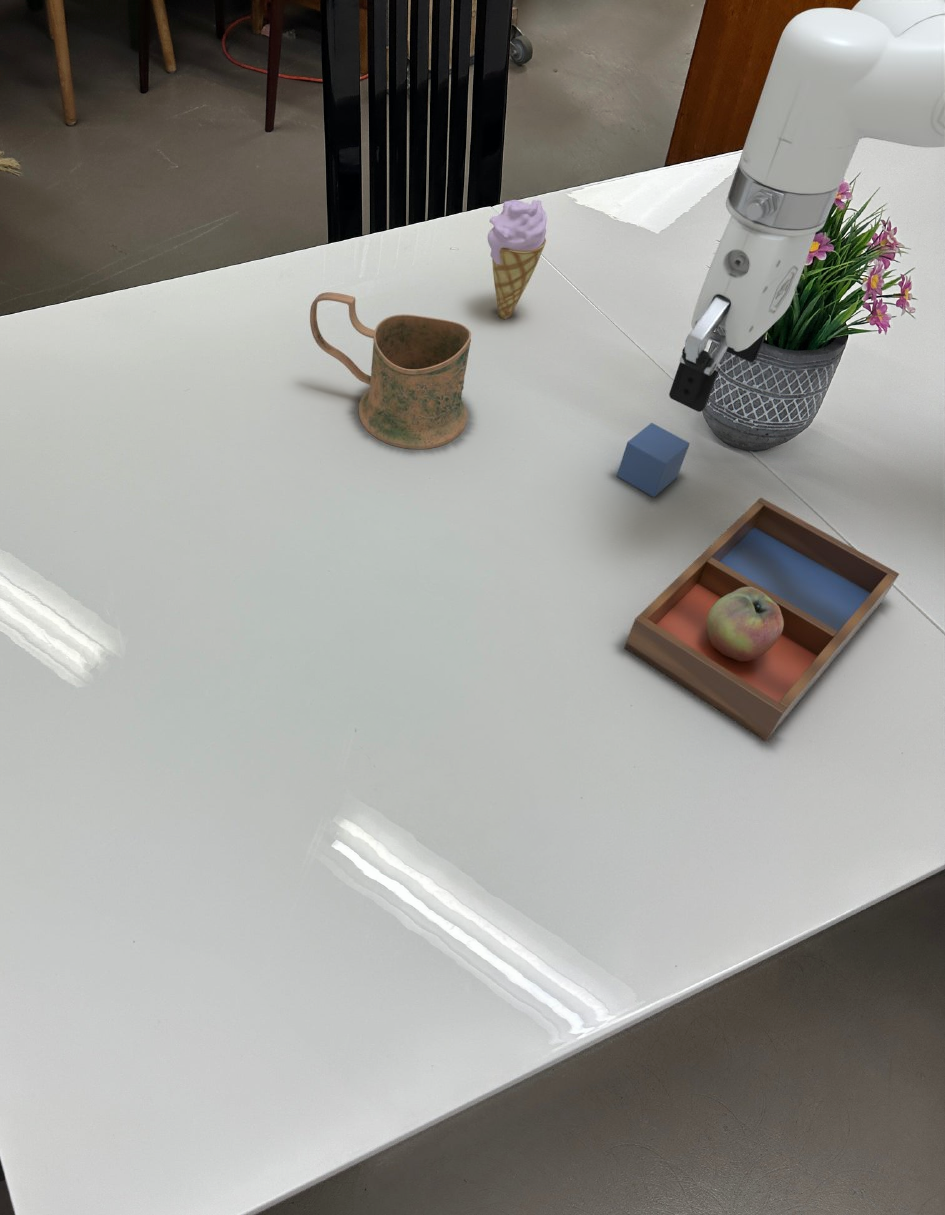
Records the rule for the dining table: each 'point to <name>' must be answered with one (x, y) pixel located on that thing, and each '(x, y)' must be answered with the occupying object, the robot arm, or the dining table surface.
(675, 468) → the blue block
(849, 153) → the robot arm
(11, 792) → the dining table surface
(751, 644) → the apple
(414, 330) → the mug
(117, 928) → the dining table surface
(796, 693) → the sorting tray
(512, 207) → the ice cream cone
